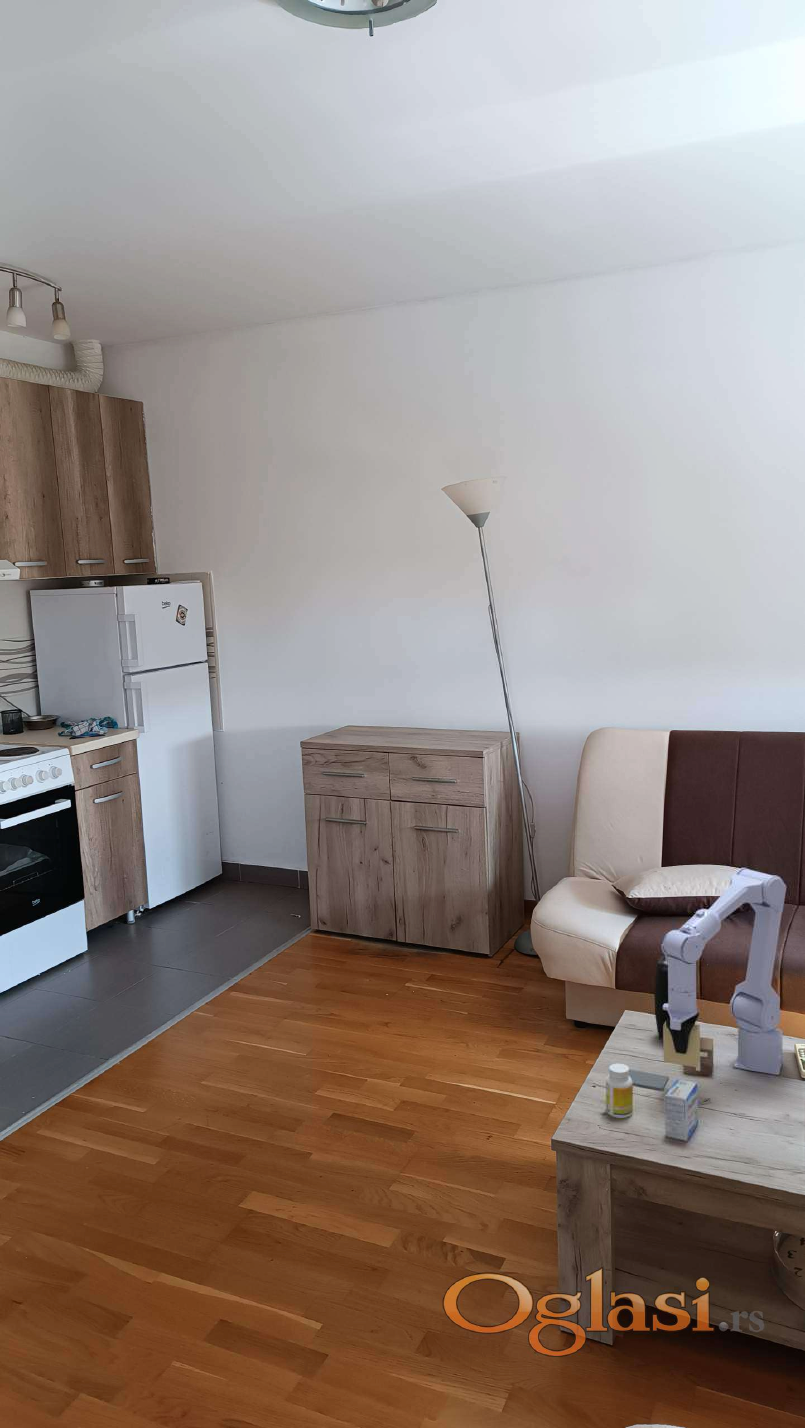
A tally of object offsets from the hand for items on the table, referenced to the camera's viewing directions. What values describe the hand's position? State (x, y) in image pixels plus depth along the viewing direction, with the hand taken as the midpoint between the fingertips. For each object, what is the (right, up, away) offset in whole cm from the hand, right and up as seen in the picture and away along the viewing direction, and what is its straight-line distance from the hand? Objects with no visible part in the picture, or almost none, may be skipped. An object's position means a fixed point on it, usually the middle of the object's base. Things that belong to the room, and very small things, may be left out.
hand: (682, 1049), depth 209 cm
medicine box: (-4, -11, -15) cm, 19 cm away
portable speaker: (+6, -7, +26) cm, 28 cm away
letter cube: (+7, -8, +11) cm, 15 cm away
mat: (-6, -9, +6) cm, 13 cm away
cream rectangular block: (0, -3, 0) cm, 3 cm away
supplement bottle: (-15, -11, -7) cm, 20 cm away
